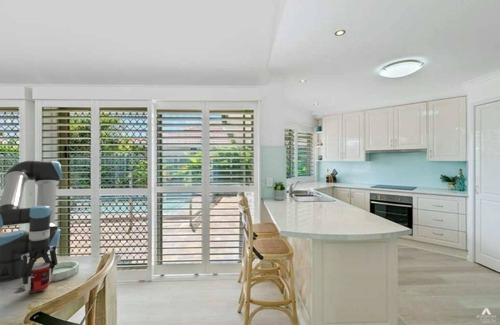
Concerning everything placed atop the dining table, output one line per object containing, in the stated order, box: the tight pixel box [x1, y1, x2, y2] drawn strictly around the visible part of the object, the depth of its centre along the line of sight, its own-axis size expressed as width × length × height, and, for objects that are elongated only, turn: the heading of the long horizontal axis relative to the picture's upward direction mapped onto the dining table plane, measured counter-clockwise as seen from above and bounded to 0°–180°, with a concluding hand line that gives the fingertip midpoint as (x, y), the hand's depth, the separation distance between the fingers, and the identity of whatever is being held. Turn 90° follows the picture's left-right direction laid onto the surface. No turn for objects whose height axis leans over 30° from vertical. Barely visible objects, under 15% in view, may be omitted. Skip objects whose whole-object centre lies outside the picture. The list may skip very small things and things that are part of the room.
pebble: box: [20, 282, 25, 290], centre depth 116 cm, size 4×4×4 cm
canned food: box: [27, 261, 50, 293], centre depth 113 cm, size 8×8×11 cm
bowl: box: [50, 260, 80, 283], centre depth 131 cm, size 17×17×4 cm
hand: (38, 285), depth 113 cm, fingers closed on canned food, 8 cm apart
